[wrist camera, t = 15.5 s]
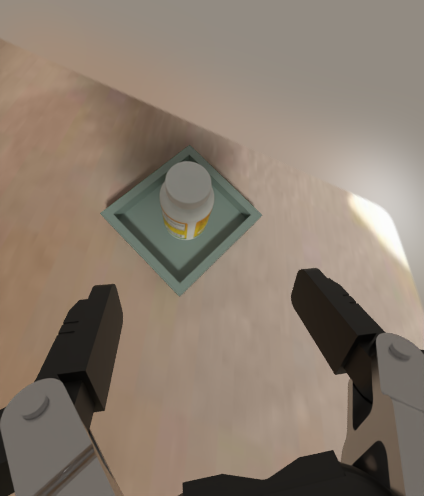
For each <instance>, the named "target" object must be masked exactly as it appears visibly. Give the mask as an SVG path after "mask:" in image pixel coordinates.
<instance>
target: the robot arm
mask: <svg viewBox="0 0 424 496" xmlns="http://www.w3.org/2000/svg"><path fill="white" fill-rule="evenodd" d="M291 301H292V305H293V307H294V309H295V310H296V312H297V314H298V315H299V317H300V319H301V320H302V322H303V323H304V325H305V327H306V328H307V330H308V332H309V333H310V335H311V336H312V338H313V340H314V341H315V343H316V344H317V346H318V348H319V349H320V351H321V353H322V354H323V356H324V357H325V359H326V361H327V362H328V364H329V365H330V367H331V369H332V370H333V372H334V374H335V375H337V374H343V373H347V374H348V375H349V377H350V380H349V382H348V413H347V436H346V440H345V443H344V446H343V450H342V456H341V462H339V461H338V459H337V457H336V455H335V453H334V451H333V450H331V451H327V452H322V453H318V454H313V455H308V456H304V457H299V458H298V459H296V460H295V461H293V462H292V463H290V464H289V465H287V466H286V467H284V468H283V469H281V470H280V471H279V472H277V473H276V474H274V475H273V476H271V477H270V478H268V479H265V480H260V479H253V478H246V477H239V476H233V475H226V474H220V475H216V476H211V477H206V478H202V479H197V480H192V481H188V482H183V493H182V494H180V495H179V496H424V350H420V349H419V348H418V347H417V346H415V345H414V344H413V343H412V342H410V341H409V340H407V339H405V338H403V337H401V336H399V335H396V334H392V333H386V332H384V331H383V329H382V328H381V327H380V326H379V325H378V324H377V323H376V322H375V321H374V320H373V319H372V318H371V317H370V316H369V315H368V314H367V313H366V312H365V311H364V310H363V308H362V307H361V306H360V305H359V304H358V303H356V301H355V300H354V299H353V298H352V297H351V296H349V294H348V293H347V292H346V291H345V290H344V289H343V287H342V286H341V285H339V284H338V283H336V282H334V281H333V280H331V279H330V278H327V277H326V276H325V275H324V274H323V273H322V272H321V271H320V270H319V269H317V268H311V269H301V270H299V271H298V273H297V276H296V280H295V283H294V287H293V290H292V294H291ZM122 324H123V312H122V307H121V304H120V300H119V296H118V292H117V288H116V285H115V284H108V285H95V286H94V287H93V288H92V290H91V293H90V295H89V298H88V299H85V300H79V301H78V302H77V303H76V304H75V305H74V306H73V307H72V308H71V309H70V310H69V312H68V314H67V316H66V318H65V320H64V322H63V325H62V326H61V328H60V331H59V334H58V336H57V337H56V339H55V341H54V343H53V345H52V347H51V349H50V351H49V353H48V356H47V358H46V360H45V362H44V364H43V366H42V368H41V370H40V372H39V374H38V376H37V378H36V380H35V381H34V383H32V384H30V385H28V386H27V387H25V388H24V389H22V390H21V391H20V392H19V393H18V394H17V395H16V396H15V397H14V398H13V399H12V400H11V401H10V402H9V404H8V405H7V407H5V408H3V409H1V410H0V496H8V495H10V494H12V493H14V492H15V495H16V496H124V495H123V493H122V491H121V490H120V488H119V486H118V484H117V482H116V480H115V478H114V476H113V474H112V472H111V470H110V468H109V466H108V464H107V462H106V460H105V458H104V456H103V454H102V452H101V450H100V448H99V446H98V444H97V442H96V440H95V438H94V436H93V434H92V432H91V430H90V425H91V420H92V416H93V412H99V411H105V406H106V401H107V396H108V392H109V387H110V382H111V377H112V372H113V368H114V363H115V358H116V353H117V348H118V344H119V339H120V334H121V329H122Z"/></svg>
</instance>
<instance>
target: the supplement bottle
mask: <svg viewBox="0 0 424 496" xmlns="http://www.w3.org/2000/svg"><path fill="white" fill-rule="evenodd" d="M160 204H161V209H162V214H163V219H164V224H165V227H166V229H167V231H168V232H169V233H170V234H171V235H172V236H174V237H175V238H178V239H181V240H191V239H194V238H196V237H198V236H199V235H200V234H201V233H202V232H203V231H204V229H205V227H206V225H207V222H208V219H209V216H210V213H211V210H212V208H213V204H214V192H213V189H212V186H211V178H210V175H209V173H208V172H207V170H206V169H205V168H204V167H203V166H201V165H199V164H197V163H195V162H190V161H184V162H180V163H177V164H175V165H174V166H172V167H171V168H170V169H169V171H168V172H167V174H166V178H165V182H164V183H163V185H162V187H161V190H160Z"/></svg>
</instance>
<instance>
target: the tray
mask: <svg viewBox="0 0 424 496" xmlns="http://www.w3.org/2000/svg"><path fill="white" fill-rule="evenodd" d="M184 161H190V162H195V163H197V164H199V165H201V166H203V167H204V168H205V169H206V170H207V172H208V173H209V175H210V178H211V186H212V189H213V192H214V204H213V208H212V210H211V213H210V216H209V219H208V222H207V225H206V227H205V229H204V231H203V232H202V233H201V234H200V235H199V236H198V237H196V238H194V239H191V240H181V239H178V238H175V237H174V236H172V235H171V234H170V233H169V232H168V231H167V229H166V227H165V224H164V219H163V214H162V209H161V204H160V190H161V187H162V185H163V183H164V182H165V178H166V174H167V172H168V171H169V169H170V168H171V167H172V166H174V165H175V164H177V163H180V162H184ZM100 214H101V215H102V216H103V217H104V218H105V219H106V220H107V221H108V223H109V224H110V225H111V226H112V227H113V228H114V229H115V230H116V231H117V232H118V233H119V234H120V235H121V236H122V237H123V238H124V239H125V240H126V241H127V242H128V243H129V244H130V246H131V247H132V248H133V249H134V250H135V251H136V252H137V253H138V254H139V255H140V256H141V257H142V258H143V259H144V260H145V261H146V262H147V263H148V264H149V265H150V266H151V267H152V268H153V270H154V271H155V272H156V273H157V274H158V275H159V276H160V277H161V278H162V279H163V280H164V281H165V282H166V283H167V284H168V285H169V286H170V287H171V288H172V289H173V290H174V291H175V293H176V294H177V295H178V296H179V297H180V296H181V295H182V294H183V293H184V292H185V291H186V290H187V289H188V288H189V287H190V286H191V285H192V284H193V283H194V282H195V281H196V280H197V279H198V278H199V277H200V276H201V275H202V274H204V273H205V272H206V271H207V270H208V269H209V268H210V267H211V266H212V265H213V264H214V263H215V262H216V261H217V260H218V259H219V258H220V257H221V256H222V255H223V254H224V253H225V252H226V251H227V250H228V249H229V248H230V247H231V246H232V245H233V244H234V243H235V242H236V241H237V240H238V239H239V238H240V237H241V236H242V235H243V234H244V233H245V232H246V231H247V230H248V229H249V228H250V227H251V226H252V225H253V224H254V223H255V222H256V221H257V220H258V219H259V218H260V217H261V216H262V214H261V213H260V212H259V211H257V210H256V209H255V208H254V207H253V206H252V205H251V204H250V203H249V202H248V201H247V200H246V199H245V198H244V197H243V196H242V195H241V194H240V193H239V192H238V191H237V190H236V189H235V188H234V187H233V186H232V185H231V184H230V183H229V182H228V181H226V180H225V179H224V178H223V177H222V176H221V175H220V174H219V173H218V172H217V171H216V170H215V169H214V168H213V167H212V166H211V165H210V164H209V163H208V162H207V161H206V160H205V159H204V158H203V157H202V156H201V155H200V154H199V153H198V152H197V151H195V150H194V149H193V148H192V147H191V146H190V145H189V146H187V147H186V148H185V149H183V150H182V151H181V152H179V153H178V154H177V155H176V156H174V157H173V158H172V159H170V160H169V161H168V162H166V163H165V164H164V165H163V166H161V167H160V168H159V169H157V170H156V171H155V172H153V173H152V174H151V175H149V176H148V177H147V178H146V179H144V180H143V181H142V182H140V183H139V184H138V185H136V186H135V187H134V188H132V189H131V190H130V191H129V192H127V193H126V194H125V195H123V196H122V197H121V198H119V199H118V200H117V201H115V202H114V203H113V204H112V205H110V206H109V207H108V208H106V209H105V210H104V211H102V212H101V213H100Z"/></svg>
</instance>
